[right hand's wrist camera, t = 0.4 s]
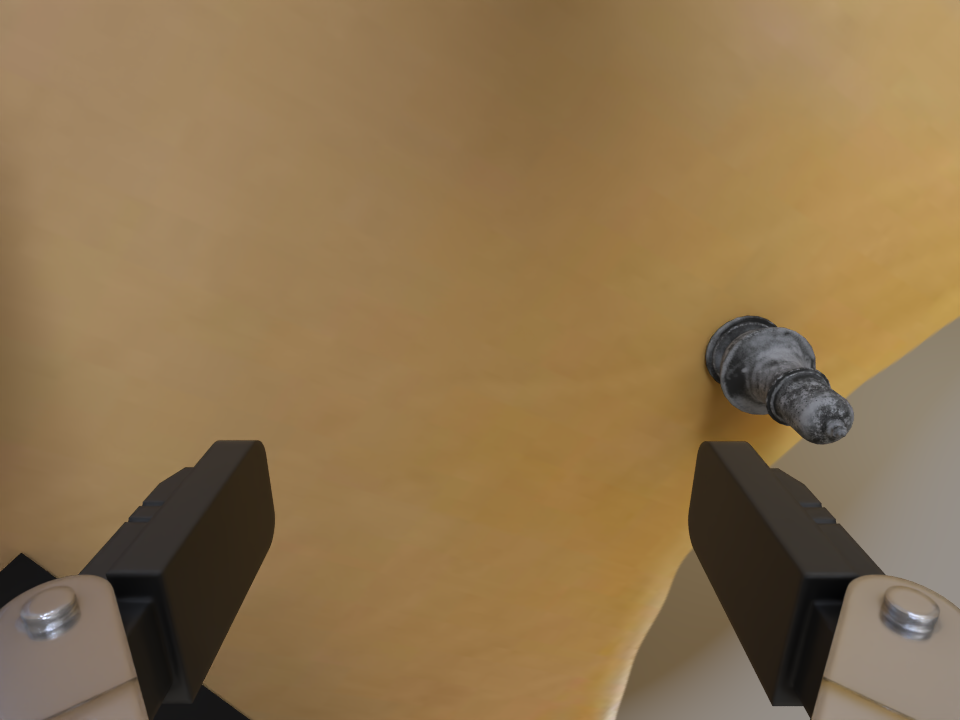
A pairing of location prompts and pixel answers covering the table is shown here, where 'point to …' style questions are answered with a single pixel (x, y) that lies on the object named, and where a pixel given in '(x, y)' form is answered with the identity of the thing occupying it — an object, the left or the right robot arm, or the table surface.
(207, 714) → the cardboard box
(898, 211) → the table surface
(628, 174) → the table surface
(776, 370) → the grey chess piece
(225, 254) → the table surface
